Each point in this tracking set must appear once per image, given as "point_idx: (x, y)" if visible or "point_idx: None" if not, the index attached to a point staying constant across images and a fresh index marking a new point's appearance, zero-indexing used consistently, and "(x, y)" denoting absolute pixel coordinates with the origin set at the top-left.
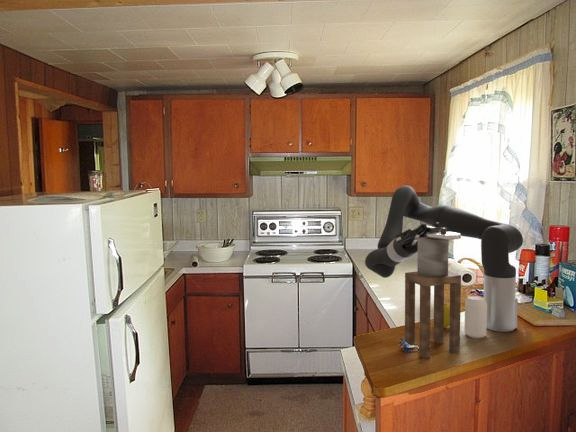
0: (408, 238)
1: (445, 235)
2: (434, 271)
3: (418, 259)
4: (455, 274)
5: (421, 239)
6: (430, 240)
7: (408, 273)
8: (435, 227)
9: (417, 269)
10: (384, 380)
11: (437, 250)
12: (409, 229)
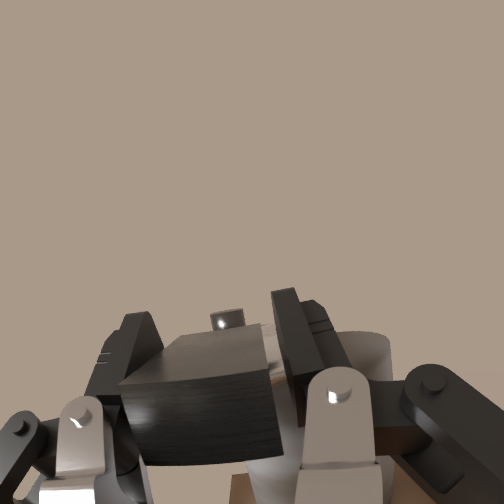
0: (435, 458)
1: (264, 327)
2: None
3: None
4: (241, 483)
5: (375, 339)
6: (342, 335)
7: None
8: (205, 334)
9: (391, 491)
10: None
11: None
12: (427, 366)
